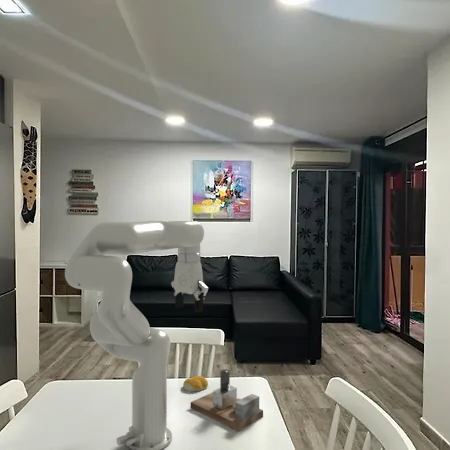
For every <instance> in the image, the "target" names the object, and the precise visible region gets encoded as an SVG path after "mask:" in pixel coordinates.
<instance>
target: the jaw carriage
mask: <svg viewBox="0 0 450 450" xmlns="http://www.w3.org/2000/svg"><path fill="white" fill-rule="evenodd" d="M230 373H231V372H230V370H229V369H226V368H224V369H220V373H219V374H220V376H219V377H220V379H219V381H220V382H219V383H220V384H219V385H220V387H219V388H216V389H214V390H213V391H212V392H213V406H215V407H217V408H219V409H221V410H223V409H225V408H227V407H229V406H231V405H233V402H234V400H236V399H238V398H237V396H238V394H237V393H238V392H237V389H238V388H237V387H235V386H233V385H230V382H231V381H230V379H231V375H230Z"/></svg>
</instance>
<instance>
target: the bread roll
mask: <svg viewBox="0 0 450 450" xmlns="http://www.w3.org/2000/svg"><path fill="white" fill-rule="evenodd" d="M208 382H209V381H208V380H207V379H206V377H204V376H202V375H197V376H192V377H190V378H186V379H185V380H184V381H183V389H184V390H186V391H187V392H191V393H194V392H197V391H198V392H201V391H202V390H205V389H207V388H208V385H209V383H208Z"/></svg>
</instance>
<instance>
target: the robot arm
mask: <svg viewBox="0 0 450 450" xmlns="http://www.w3.org/2000/svg"><path fill="white" fill-rule="evenodd" d="M204 237H205V230H204V227H203V224H201V223H200V222H199V221H195V220H193V221H191V220H190V221H189V220H179V221H178V220H173V221H172V220H169V221H164V220H146V221H145V220H143V221H125V222H122V221H121V222H120V221H119V222H117V221H115V222H112V221H111V222H109V221H107V222H106V221H105V222H100V223H98V224H96V225H95V226H94V227H92V229H91V230H90V231H89V232H88V233H87V234H86V236H85V237H84V238H83V239H82V241H81V243H79V245H78V247H77V248H76V249H75V250H74V252H73V253H72V255H71V256H70V258H69V259H68V260H67V262H66V266H65V269H64V278H65V281H66V282H67V284H68V285H69V286H71V287H72V288H74V289H78V290H84V291H85V290H86V291H95V292H102V295H101V296H102V297H101V300H100V303H99V305H98V307H97V309H96V311H95V312H94V313H93V315H92V316H91V318H90V321H89V332H90V335H91V337H92V339H93V340H94V341H95V343H96V344H98V345H99V346H100V347H101V348H103V349H104V350H105V351H106V352H107V353H108V354H109V355H111V356H113V357H115V358H116V359H120V360H125V361H129V362H136V363H138V364H139V366H138V368H137V369H136V370H135V372H134V374H133V376H132V381H131V389H132V390H131V391H132V393H131V398H132V399H131V401H132V402H131V403H132V404H131V406H132V407H131V408H132V409H131V411H132V412H131V413H132V415H131V416H132V417H131V418H132V419H131V423H132V424H131V426H129V427H128V431H127V432H126V434H123V435H121V436H119V437H116V444H117V445H118V446H121V445H123V444H125V443H126V446H127V447H128V448H129V449H130V450H163V449H164V448H167V446H168V445H170V444H171V442H172V439H173V433H172V431H171V430H170V429H169V428H168V427H167V426H168V424H167V422H168V421H167V412H168V411H167V409H168V408H167V407H168V405H167V399H168V398H167V383H168V381H167V375H168V373H167V372H168V371H167V370H168V361H169V355H170V350H171V339H170V337H169V335H168V333H167V332H165V331H164V330H161V329H158V328H154V327H150V324H149V321H148V319H147V318H146V316H144V314H143V313H142V312H141V311H140V310H139V308H137V307H136V306H135V304H134V303H133V302H132V301H131V298H130V296H131V289H132V288H131V287H132V283H133V271H132V267H131V265H130V264H129V262H128V261H127V260H126V259H124V258H121V257H118V256H113V255H120V256H121V255H122V256H131V255H137V254H143V253H149V252H154V251H167V250H174V249H177V262H175V263H176V264H175V268H174V277H173V278H174V279H173V280H172V281H171V283H170V284H171V287H172V291H173V296H174V297H175V299H174V301H175V306H174V307H175V308H176V309H178V308H183V307H184V304H185V302H184V300H185V298H184V297H185V296H184V294H187V295H193V296H194V298H195V300H194V312H195V313H201V312H203V311H204V300H205V298H206V296H207V295H208V294H207V293H208V290H209V287H208V286H207V285H206V284H205V282H204V275H203V267H202V263H201V243H202V242H203V240H204Z"/></svg>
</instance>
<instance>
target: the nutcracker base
mask: <svg viewBox="0 0 450 450" xmlns="http://www.w3.org/2000/svg"><path fill="white" fill-rule="evenodd" d="M190 409H191V410H193V411H195V412H197V413H200V414H201V415H204V416H206V417H208V418H210V419H211V420H214V421H217V422H219V423H220V424H223V425H225V426H227V427H229V428H230V429H234V430H236V431H237V432H239V431H241V430H243V429H244V428H247V426H250V425H252V424H253V423H255V422H256V421H258V420H259V419H262V418H264V410H263V409H260V396H259V395H256V394H253V393H250V394H249V395H246V396H245V397H243V398H237V399H236V400H234V402H233V405H231V406H229V407H227V408H225V409H223V410H221V409H219V408H217V407H215V406H213V391H212V392H211V393H207V394H206V395H204V396H201V397H199V398H196V399H194V400H192V401H190Z"/></svg>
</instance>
